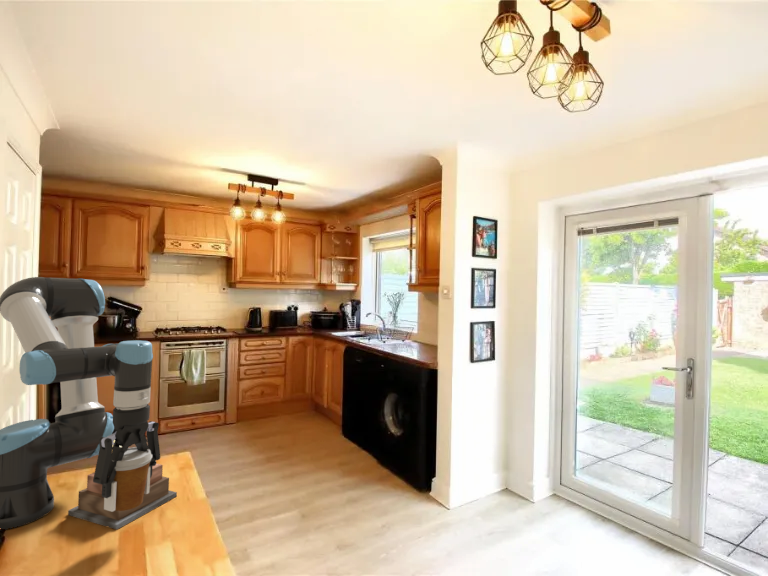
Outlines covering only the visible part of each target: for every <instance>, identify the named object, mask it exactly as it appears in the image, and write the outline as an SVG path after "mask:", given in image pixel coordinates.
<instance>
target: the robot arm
mask: <svg viewBox="0 0 768 576" xmlns="http://www.w3.org/2000/svg"><path fill="white" fill-rule="evenodd" d="M105 299H106V298H105V294H104V290H103V288H102V286H101V284H100V283H98V281H96V280H94V279H85V278H78V277H77V278H70V277H69V278H68V277H67V278H66V277H43V276H33V277H28V278H23V279H21V280H18V281H16V282H14V283H12V284H11V285H9V286H8V287H7V288H6V289H4V291H3V292H2V293H1V295H0V315H1V316H2V318H3V319H4V320H6V322H9V323H11V326H12V328H13V330H14V332H15V334H16V336H17V338H18V341H19V342H20V345H21V347H22V349H23V351H24V353H22V355H21V357H20V360H19V376H20V380H21V383H22V384H24V385H26V386H34V385H35V386H36V385H43V386H44V385H50V384H55V383H60V400H61V402H60V403H61V404H60V405H61V409H60V410H59V411H58V413H56V414H55V417H54V419H55V422H52V423H51V422H50V421H49V419H46V418H36V419H27V420H23V421H20V422H16V423H13V424H10V425H7V426H5V427H2V428H0V528H1V529H5V530H8V528H10V529H13V528H12V527H14V528H18V527H21V526H24V525H27V524H30V523H33V522H35V521H37V520H39V519H41V518H43V517H44V516H47V514H49V513H51V511H52V510H53V509H54V507H55V506H54V505H55V496H54V494H53V491H52V489H51V487H50V484H49V481H48V469H49V468H53V467H58V466H62V465H65V464H68V463H69V464H70V463H72V462H77V461H81V460H85V459H90V458H93V457H95V456H97V459H96V460H97V461H96V465H95V469H94V472H95V473H94V472H93V473H94V478H93V482H94V483H98V484H102V497H104V509H105V510H108V511H111V512H113V511H115V508H116V487H117V482H116V481H113V480H114V478H115V475H116V469H115V467H116V463H117V461H121V460H122V458H123V455H124V453H125V452H126V451H127V450H128V448H130V447H131V446H133V445H135V447H137V450H140V451H144V452H145V451H147V449H150V451H151V454H152V459H151V461H150V464H149V469H148V475H147V480H146V486H145V491H144V494H148V493H149V489H150V478H151V477H152V467H153V466H155V465H156V464H157V461H160V459H161V450H160V441H159V434H158V433H159V432H158V431H159V425H160V423H159V422H156V421H149V420H150V417H151V416H150V413H151V412H150V411H151V406H150V402H151V392H152V391H151V390H152V388H151V387H152V386H151V385H152V371H153V370H152V368H153V359H154V354H153V344H152V342H150V341H148V340H139V339H138V340H136V339H135V340H134V339H133V340H123V341H120V342H119V343H107V344H104V345H102V346H95V337H94V324H95V323H97V321H98V320H99V316H101V315H103V314H104V311H105V307H106V306H105V305H106V300H105ZM103 377H114V387H113V388H114V389H113V402H112V403H113V404H112V405H113V406H114V408H113V410H112V413H110V412H108V411H107V412H106V408H105V407H106V406H104V405H103V404H101V403H100V402H99V397H98V384H97V383H98V382H97V380H98V379H97V378H103ZM145 433H146V435H145ZM112 460H113V461H114V462H113V461H112ZM155 461H156V462H155ZM17 526H18V527H17Z"/></svg>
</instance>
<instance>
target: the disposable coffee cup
mask: <svg viewBox="0 0 768 576" xmlns="http://www.w3.org/2000/svg"><path fill="white" fill-rule="evenodd" d="M151 459H152V454H151V451H150V449H147V451H145V452H144V451H140V450H137V447H136V446H134V447H128V450H127V451H126V452H125V453H124V455H123V458H122V460H121V461H117V463H116V467H115V469H116V475H115V478H114V480H113V481H116V482H117V487H116V508H115V510H116V511H125V510H129V509H133V508H135V507H137V506H139V505H140V504H141V503H142V502H143V496H144V491H145V486H146V480H147V475H148V469H149V464H150V461H151ZM112 461H113V460H112ZM113 462H114V461H113Z"/></svg>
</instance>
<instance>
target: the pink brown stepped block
mask: <svg viewBox="0 0 768 576" xmlns="http://www.w3.org/2000/svg"><path fill="white" fill-rule="evenodd" d="M163 466H164V465H163V464H160V463H156V465H155V466H153V467H152V477H151V478H150V489H149V493H148V494H144V496H143V502H142V503H141V504H140V505H139V506H137V507H135V508H133V509H129V510H125V511H116V510H115V511H113V512H111V511H108V510H105V509H104V497H102V484H98V483H94V482H93V478H94V473H95V471H94V472H93V473H90V474H87V478H86V479H87V483H86V488H84V489H82V490H79V491H78V498H77V499H78V501H77V502H78V503H77V504H78V505H77V506H75V507H72V508H70V509H68V510H67V516H71V517H74V518H77V519H80V520H84V521H87V522H90V523H94V524H97V525H100V526H104V527H107V528H110V529H114V530H119V529H121V528H122V527H124V526H126V525H128V524H130V523H131V522H133V521H135V520H137V519H139V518H140V517H142V516H144V515H146V514H148V513H149V512H151V511H153V510H155V509H157V508H159V507H160V506H162V505H164V504H165V503H168V502H169V501H171V500H173V499H174V498H176V497H177V494H178V492H176V491H173V490H170V477H167V476H163Z"/></svg>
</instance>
